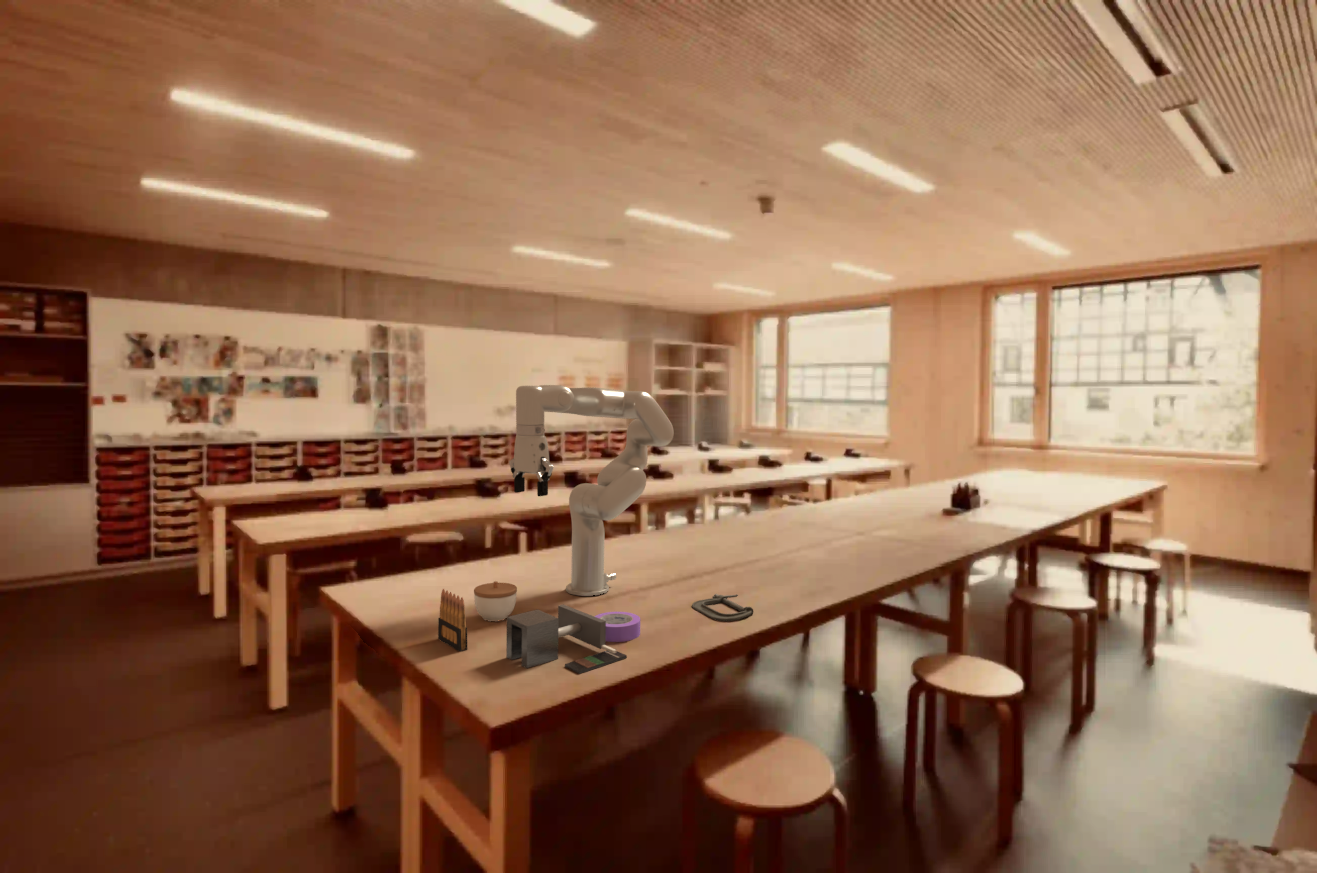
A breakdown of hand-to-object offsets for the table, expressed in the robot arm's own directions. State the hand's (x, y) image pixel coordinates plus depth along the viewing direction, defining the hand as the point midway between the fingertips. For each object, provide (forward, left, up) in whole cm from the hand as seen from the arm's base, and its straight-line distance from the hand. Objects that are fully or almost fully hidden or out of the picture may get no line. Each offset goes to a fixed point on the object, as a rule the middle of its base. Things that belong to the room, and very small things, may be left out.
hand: (530, 493), depth 185 cm
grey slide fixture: (+16, +38, -30) cm, 51 cm away
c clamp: (-38, +39, -31) cm, 62 cm away
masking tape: (-3, +33, -31) cm, 46 cm away
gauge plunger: (+15, +36, -29) cm, 48 cm away
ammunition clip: (+30, +14, -31) cm, 46 cm away
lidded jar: (+13, +4, -31) cm, 34 cm away
